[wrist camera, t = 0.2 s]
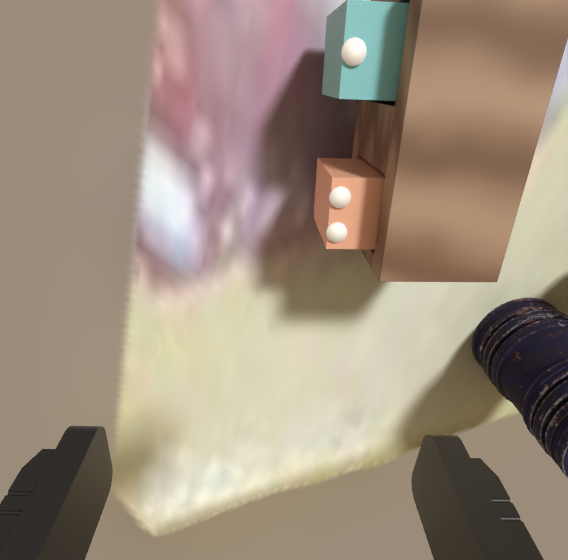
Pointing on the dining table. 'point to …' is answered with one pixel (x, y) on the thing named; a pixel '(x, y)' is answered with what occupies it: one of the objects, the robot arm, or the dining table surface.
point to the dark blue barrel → (530, 367)
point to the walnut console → (459, 134)
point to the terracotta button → (348, 202)
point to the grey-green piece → (364, 50)
